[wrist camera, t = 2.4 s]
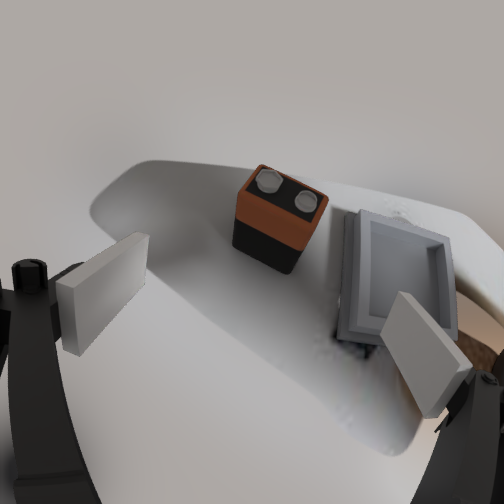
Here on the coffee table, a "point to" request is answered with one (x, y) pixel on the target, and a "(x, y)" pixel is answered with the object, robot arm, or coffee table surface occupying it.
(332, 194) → the coffee table surface
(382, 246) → the charging dock
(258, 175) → the battery
